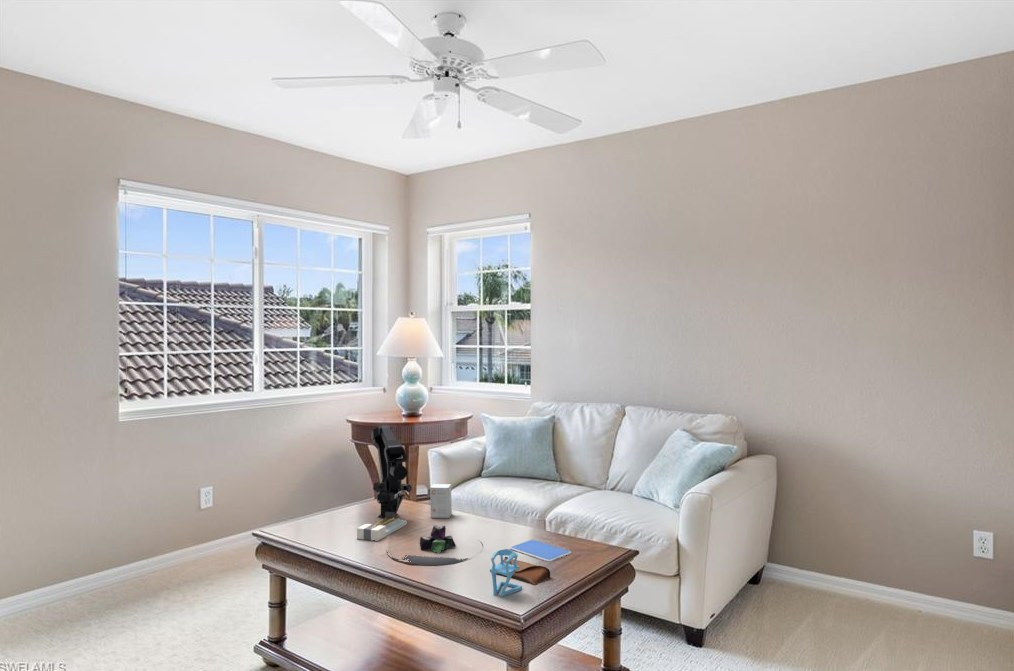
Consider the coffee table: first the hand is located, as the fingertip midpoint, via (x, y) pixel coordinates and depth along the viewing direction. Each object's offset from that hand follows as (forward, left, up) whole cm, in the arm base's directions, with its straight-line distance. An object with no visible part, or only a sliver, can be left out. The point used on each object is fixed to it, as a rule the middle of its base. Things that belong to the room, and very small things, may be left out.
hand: (394, 513), depth 258 cm
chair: (+49, +66, -5) cm, 83 cm away
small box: (-17, +13, -5) cm, 22 cm away
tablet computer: (+12, +66, -5) cm, 67 cm away
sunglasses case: (+36, +66, -5) cm, 76 cm away
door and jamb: (+9, 0, -4) cm, 10 cm away
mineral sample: (+21, +29, -6) cm, 36 cm away
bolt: (+8, 0, -3) cm, 8 cm away
